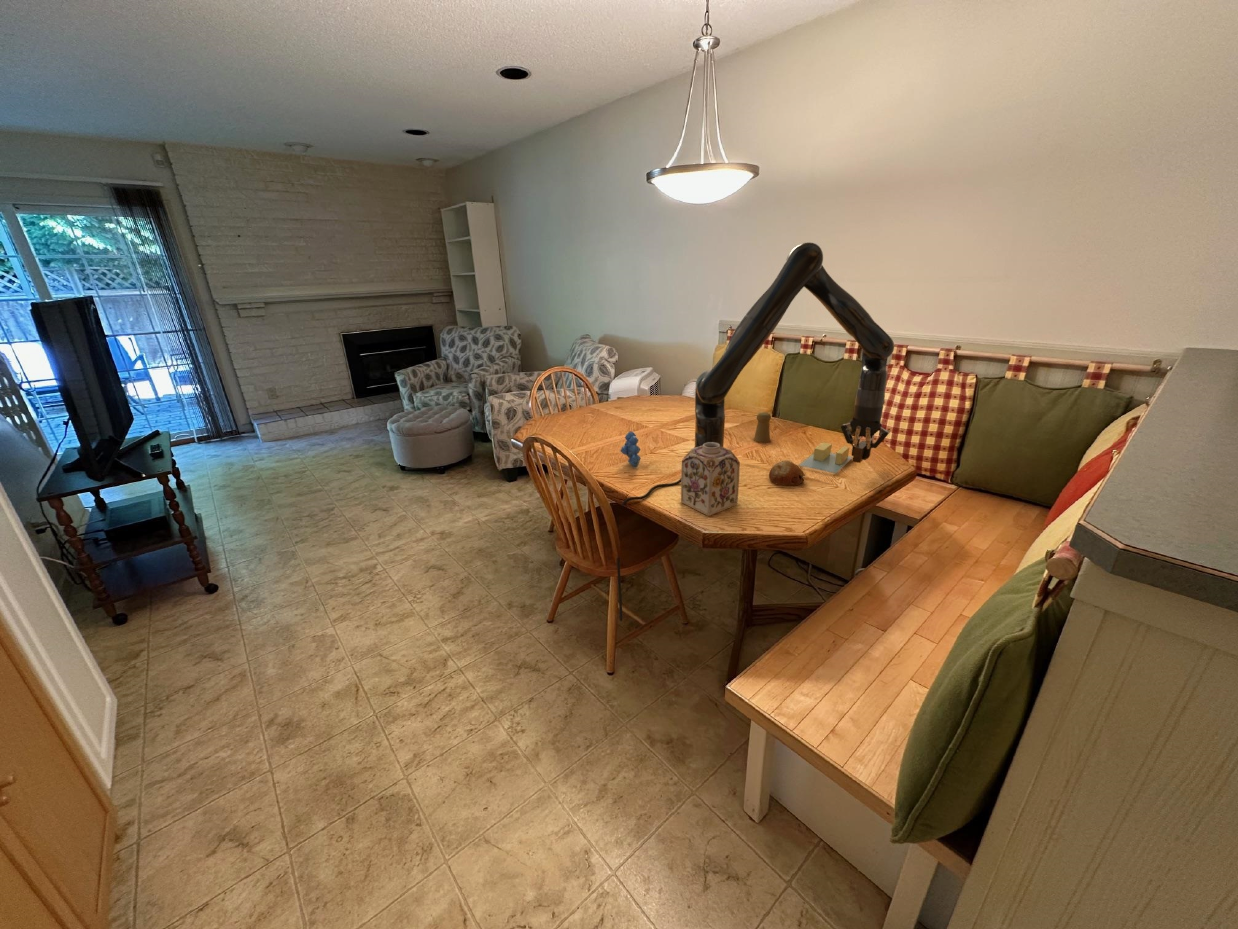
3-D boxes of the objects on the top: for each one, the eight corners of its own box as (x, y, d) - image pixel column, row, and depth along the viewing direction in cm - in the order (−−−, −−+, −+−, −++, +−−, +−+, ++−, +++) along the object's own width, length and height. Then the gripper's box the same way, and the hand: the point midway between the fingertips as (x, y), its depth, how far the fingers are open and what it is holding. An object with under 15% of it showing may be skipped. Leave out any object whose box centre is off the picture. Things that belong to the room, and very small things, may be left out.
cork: (753, 442, 185) (755, 414, 181) (754, 437, 190) (756, 410, 186) (769, 443, 183) (772, 415, 179) (770, 438, 188) (772, 411, 184)
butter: (822, 461, 161) (823, 450, 160) (812, 459, 163) (814, 448, 162) (830, 454, 167) (831, 443, 165) (821, 452, 169) (822, 442, 167)
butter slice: (840, 465, 158) (842, 453, 156) (834, 463, 159) (836, 452, 157) (847, 458, 163) (849, 447, 162) (842, 457, 164) (843, 446, 163)
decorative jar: (738, 505, 135) (742, 445, 128) (709, 517, 129) (711, 455, 122) (708, 491, 144) (710, 434, 137) (679, 502, 138) (680, 443, 131)
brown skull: (783, 483, 157) (775, 460, 156) (812, 478, 149) (804, 453, 149) (768, 492, 150) (760, 468, 150) (797, 487, 143) (789, 462, 142)
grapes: (616, 461, 171) (615, 428, 166) (634, 458, 172) (634, 426, 168) (625, 472, 160) (624, 438, 156) (644, 470, 161) (643, 436, 157)
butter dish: (835, 476, 152) (836, 473, 151) (798, 468, 159) (798, 465, 159) (852, 459, 164) (853, 457, 164) (817, 452, 172) (817, 450, 171)
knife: (860, 463, 143) (862, 448, 141) (852, 461, 144) (854, 447, 142) (875, 447, 155) (877, 433, 153) (868, 445, 156) (870, 432, 154)
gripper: (840, 402, 141) (832, 457, 148) (892, 409, 133) (881, 467, 139) (848, 397, 147) (840, 450, 153) (898, 403, 138) (888, 459, 145)
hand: (860, 458), depth 146 cm, fingers closed on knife, 2 cm apart
